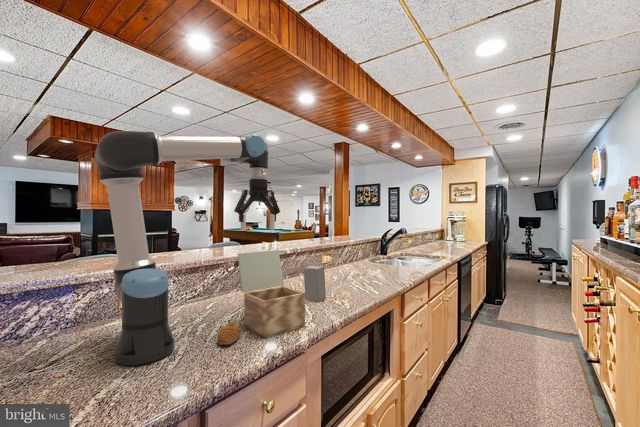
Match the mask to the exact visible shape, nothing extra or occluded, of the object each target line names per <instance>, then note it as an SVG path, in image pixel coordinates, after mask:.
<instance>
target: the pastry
mask: <svg viewBox="0 0 640 427" xmlns="http://www.w3.org/2000/svg"><path fill="white" fill-rule="evenodd" d="M241 334H242V330H241V328H240V327H239V326H238V324H235V323H229V324H226V325H225V326H223V327H222V328H221V329H220V330H219V332H218V334H217V342H218V344H219V345H220V346H221V345H232V344H233V343H235V342H236V341H238V339H239V338H240V335H241Z"/></svg>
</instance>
